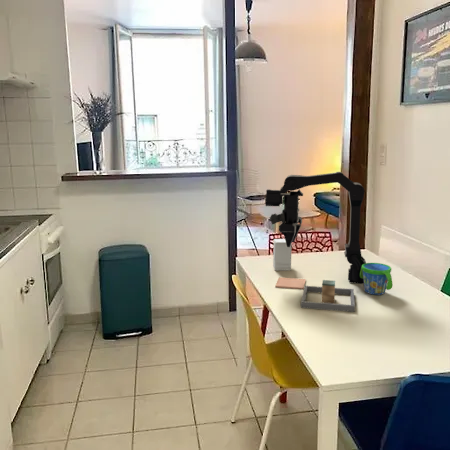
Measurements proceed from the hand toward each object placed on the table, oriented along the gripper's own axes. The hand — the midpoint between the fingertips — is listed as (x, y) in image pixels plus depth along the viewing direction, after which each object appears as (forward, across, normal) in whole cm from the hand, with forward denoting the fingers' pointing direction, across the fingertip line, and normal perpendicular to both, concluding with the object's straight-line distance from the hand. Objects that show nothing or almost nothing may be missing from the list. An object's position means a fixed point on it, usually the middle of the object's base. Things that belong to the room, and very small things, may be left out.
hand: (290, 244), depth 199 cm
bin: (+14, +22, +18) cm, 32 cm away
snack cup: (+15, +8, +34) cm, 38 cm away
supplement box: (+15, -13, -6) cm, 20 cm away
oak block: (+14, +22, +18) cm, 32 cm away
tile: (+14, +7, +2) cm, 16 cm away
